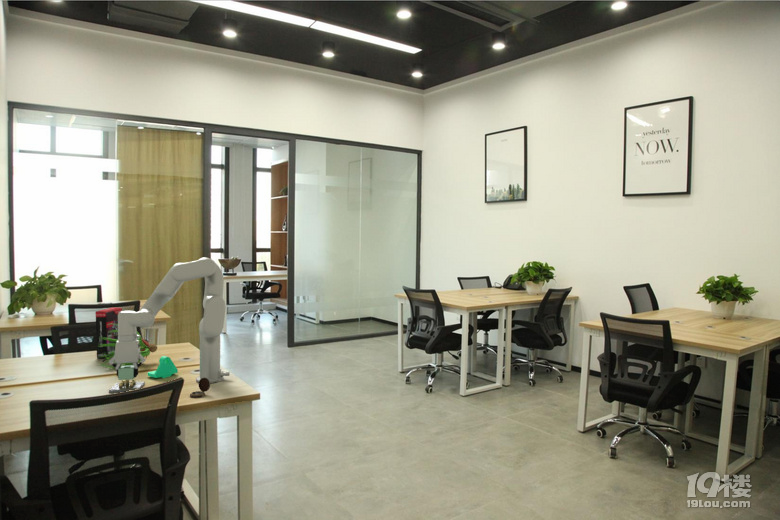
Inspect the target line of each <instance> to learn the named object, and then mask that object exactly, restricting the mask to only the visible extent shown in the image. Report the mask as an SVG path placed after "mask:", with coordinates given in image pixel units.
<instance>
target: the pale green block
mask: <svg viewBox="0 0 780 520" xmlns="http://www.w3.org/2000/svg"><path fill="white" fill-rule="evenodd" d="M117 379H118V381H122V380H129V381H130V380H131V381H132V380H134V379H135V378H134V365H131V366H121V367H120V368H119V369H118V376H117Z"/></svg>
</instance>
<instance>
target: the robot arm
mask: <svg viewBox="0 0 780 520" xmlns="http://www.w3.org/2000/svg"><path fill="white" fill-rule="evenodd" d="M201 278H202V279H203V278H204V281H205V282H204V283H205V285H204V293H203V294H204V295H203V301H202V307H203V317H202V318H201V320H200V321H199V326H198V329H199V330H198V331H199V334H198V335H199V376H197V377H196V378H195V380H196V382H197V383H199V381H200V379H201V378H207V379H208V380H209V382H210V384H211V383H212V384H213V383H218V382H221V381H223V380H224V377H230V371H224V370H222V368H221V335H222V332H223V330H224V325H225V316H226V306H227V305H226V302H225V299H224V295H223V294H224V283H225V282H224V281H225V280H224V273H223V271H222V269H221V267H220V266H219V265H218V264H217V263H216V262H215V261H214V260H213V259H212V258H209V257H206V256H204V257H200V258H199V259H198V260H193V261H188V262H177V263H175V264H173V266H171V268H170V269H169V270H168V272H167V273H166V274H165V275H164V277H163V278H162V280H161V281H160V282H159V284H158V285H157V286H156V287H155V289H154V290H153V292H152V294H151V295H150V296H149V297H148V299H147V300H146V301H145V303H144V304H143V305H142V306H141V307H140V309H139V310H138V311H135V310H122V311H121V312H119V314H118V341H117V342H116V347H115V356H114V357H111V358H109V359H110V360H108V361H109V362H108V364H109V363H110V364H109V365H111V366H113V367H115V369H114V370H116V377H118V369H119V368H120V366H121V364H122V363H133V365H134V379H135V378H137V376H139V367H141V365H143V363H145V362H146V360H147V358H146V357H145V358H146V359H145V358H144V357H143V356H142V355H141V354H140V347H141V345H139V340H137V338H140V335H141V334H140V335H137V334H136V333H137V331H138V329H137V328H139V327H141V328H148V327H151V326H152V325H153V324H154V322H155V321H156V316H157V315H158V313H159V312H160V310H162V308H163V307H164V306H165V305H166V304H167V303H168V302H169V301H171V300H172V299H173V298H174V297H175V295H176V294H177V293H178V291H179V290H180V288H181V287H182V285H183V284H184V283H185V282H188V281H189V282H190V281H193V280H197V279H201ZM140 359H141V361H140V362H139V363H138V360H140ZM114 361H115V362H114ZM116 363H117V364H116Z"/></svg>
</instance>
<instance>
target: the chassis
mask: <svg viewBox="0 0 780 520" xmlns="http://www.w3.org/2000/svg"><path fill="white" fill-rule="evenodd" d="M145 383H146V382H145V381H137V379H135V378H134V379H131V381H130V380H121V382H115V384H114V385H113V386H111V387H110V389H108V393H109V394H111V393H113V394H114V393H116V394H117V393H125V392H124V391H129V390H135V389H140V388H141V389H142V388H143V387H144V386H145ZM141 389H140V390H141Z"/></svg>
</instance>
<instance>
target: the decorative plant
mask: <svg viewBox="0 0 780 520" xmlns="http://www.w3.org/2000/svg"><path fill="white" fill-rule="evenodd" d="M114 325H118V324H114ZM112 331H113V332H118V330H112ZM109 332H110V331H109ZM110 333H112V332H110ZM136 334H137V335H140V338H137V340H139V345H140V354H141V355H142V356H143V357H144V358H145V359H146V360H147V358H148V356H150V354H151V353H155V352H157V350H158V345H156V344H155V343H151V344H150V343H149V342H148V341H146V340H145V339H144V338H143V337H142V335H141V334H140V332H139V331H138V330H137V333H136ZM113 336H114V335H113ZM100 339H103V337H102V338H100ZM104 340H109V341H113V342H117V341H118V340H117V339H113V340H112V338H108V339H104ZM97 344H98V343H96V345H97ZM99 345H102V346H110V347H116V343H110V344H99ZM99 347H101V346H99ZM110 347H109V348H110ZM109 348H108V349H109ZM112 352H113V353H111V352H109V353H110V354H108V355H104V356H101V357H105V358H106V356H109V355H111V356H110V357H107V358H106V359H102V363H98V365H99V366H102V367H104V368H106V369H110V370H112V369H113V370H116V369H115V367H113V366H112V365H111V364H110V363H109V360H110V359H111V358H112V357H114V356H115V351H112ZM102 354H103V353H102ZM113 354H114V355H113ZM99 358H100V357H99ZM99 358H98V359H99ZM114 362H115V361H114ZM140 362H141V359H140V360H138V364H139V363H140ZM107 363H108V365H105V364H107ZM116 364H117V363H116ZM110 365H111V366H110ZM131 365H133V363H122V364H121V366H131ZM121 366H120V367H121Z"/></svg>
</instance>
